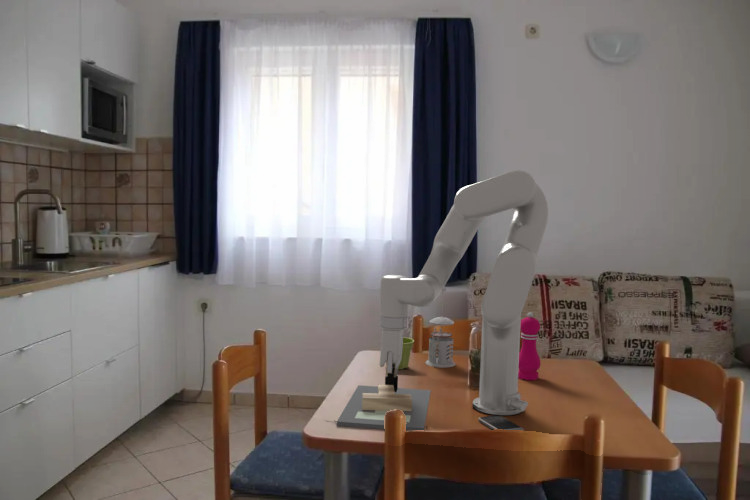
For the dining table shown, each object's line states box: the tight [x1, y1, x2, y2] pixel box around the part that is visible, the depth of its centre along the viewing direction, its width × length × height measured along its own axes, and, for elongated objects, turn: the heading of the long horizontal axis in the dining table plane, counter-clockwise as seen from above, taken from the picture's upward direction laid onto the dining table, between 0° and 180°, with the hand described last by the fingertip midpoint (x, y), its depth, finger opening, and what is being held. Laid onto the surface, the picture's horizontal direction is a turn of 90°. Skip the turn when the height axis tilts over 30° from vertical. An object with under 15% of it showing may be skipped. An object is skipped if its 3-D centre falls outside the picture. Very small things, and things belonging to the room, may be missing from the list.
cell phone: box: [478, 414, 525, 431], centre depth 148 cm, size 6×11×1 cm, turn 22°
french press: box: [425, 287, 456, 368], centre depth 205 cm, size 10×12×25 cm
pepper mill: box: [518, 311, 541, 381], centre depth 191 cm, size 7×7×20 cm
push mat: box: [336, 384, 431, 431], centre depth 159 cm, size 30×20×1 cm, turn 172°
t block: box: [362, 384, 412, 411], centre depth 160 cm, size 12×12×3 cm
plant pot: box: [398, 336, 415, 370], centre depth 200 cm, size 9×9×9 cm
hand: (391, 390), depth 168 cm, fingers closed
